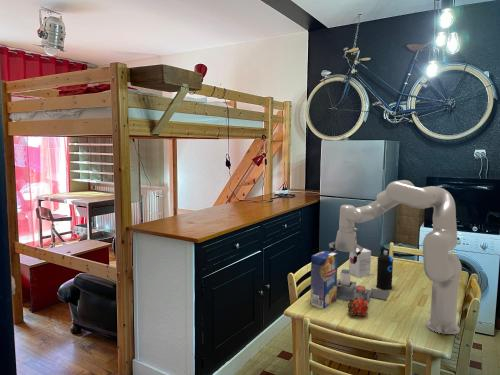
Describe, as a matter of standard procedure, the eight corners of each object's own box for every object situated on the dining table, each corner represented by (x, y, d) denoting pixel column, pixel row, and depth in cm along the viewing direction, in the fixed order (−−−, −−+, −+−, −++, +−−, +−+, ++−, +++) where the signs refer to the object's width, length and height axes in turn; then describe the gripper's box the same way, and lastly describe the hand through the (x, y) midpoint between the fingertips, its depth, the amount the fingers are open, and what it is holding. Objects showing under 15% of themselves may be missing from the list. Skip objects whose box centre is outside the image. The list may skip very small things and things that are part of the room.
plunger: (364, 298, 180) (364, 289, 179) (354, 296, 182) (354, 288, 181) (366, 295, 184) (366, 286, 183) (356, 293, 186) (356, 284, 185)
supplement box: (348, 272, 223) (349, 248, 222) (359, 270, 227) (360, 246, 225) (358, 277, 215) (359, 252, 213) (370, 275, 219) (371, 250, 217)
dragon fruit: (347, 321, 165) (362, 317, 173) (362, 315, 160) (377, 311, 168) (340, 302, 169) (355, 299, 177) (354, 296, 164) (369, 293, 171)
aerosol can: (374, 288, 199) (376, 252, 197) (377, 283, 206) (378, 248, 204) (391, 291, 195) (392, 254, 193) (393, 286, 202) (394, 250, 200)
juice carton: (324, 308, 174) (325, 259, 171) (310, 304, 179) (311, 255, 176) (336, 300, 183) (337, 253, 180) (323, 296, 188) (324, 250, 185)
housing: (367, 304, 178) (367, 294, 178) (330, 297, 187) (330, 288, 186) (372, 294, 191) (372, 284, 191) (337, 287, 200) (337, 278, 199)
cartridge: (348, 291, 189) (349, 272, 188) (338, 290, 192) (339, 271, 190) (350, 288, 194) (351, 269, 193) (341, 286, 196) (341, 268, 195)
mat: (386, 300, 183) (386, 299, 183) (367, 297, 187) (367, 296, 187) (389, 292, 194) (389, 291, 194) (371, 289, 198) (371, 288, 198)
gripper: (365, 229, 189) (363, 262, 191) (331, 225, 196) (330, 257, 199) (362, 233, 182) (360, 266, 184) (327, 228, 190) (326, 261, 192)
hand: (345, 261), depth 191 cm, fingers open, 9 cm apart
